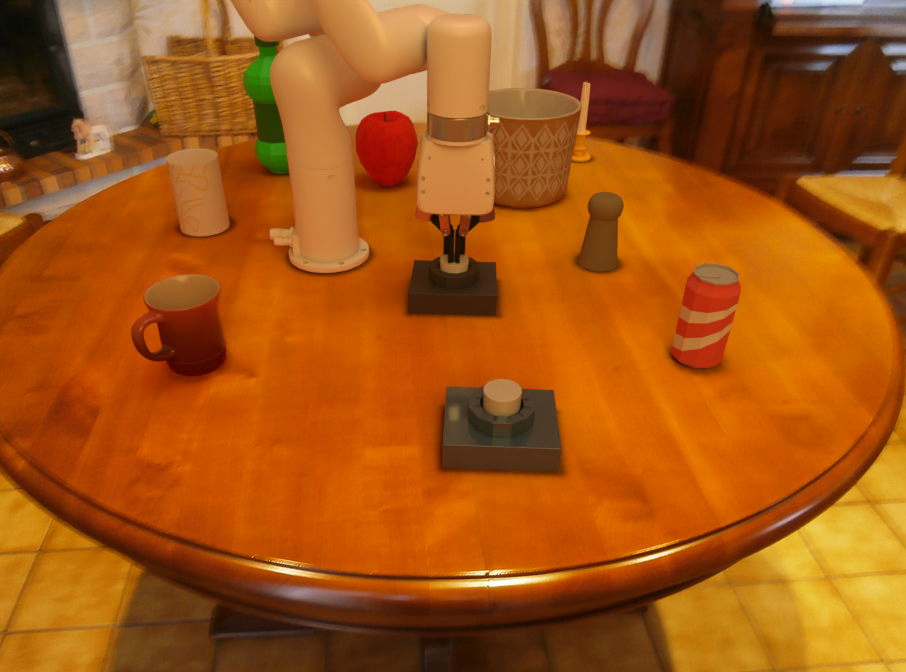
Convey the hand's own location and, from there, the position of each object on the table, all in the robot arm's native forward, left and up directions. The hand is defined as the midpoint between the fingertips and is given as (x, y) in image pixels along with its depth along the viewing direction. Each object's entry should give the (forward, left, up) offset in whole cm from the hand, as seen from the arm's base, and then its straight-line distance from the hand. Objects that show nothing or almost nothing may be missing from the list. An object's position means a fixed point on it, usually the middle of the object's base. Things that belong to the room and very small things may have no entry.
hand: (454, 258), depth 102 cm
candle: (+24, +60, -6) cm, 65 cm away
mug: (-32, -20, -6) cm, 38 cm away
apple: (-14, +44, -6) cm, 47 cm away
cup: (-43, +22, -6) cm, 49 cm away
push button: (0, 0, -2) cm, 2 cm away
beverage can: (+31, -14, -6) cm, 35 cm away
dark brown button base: (0, 0, -6) cm, 6 cm away
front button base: (+6, -31, -6) cm, 32 cm away
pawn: (+22, +12, -6) cm, 26 cm away
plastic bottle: (-36, +50, -6) cm, 62 cm away
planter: (+11, +40, -6) cm, 42 cm away
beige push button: (+6, -31, -1) cm, 32 cm away
